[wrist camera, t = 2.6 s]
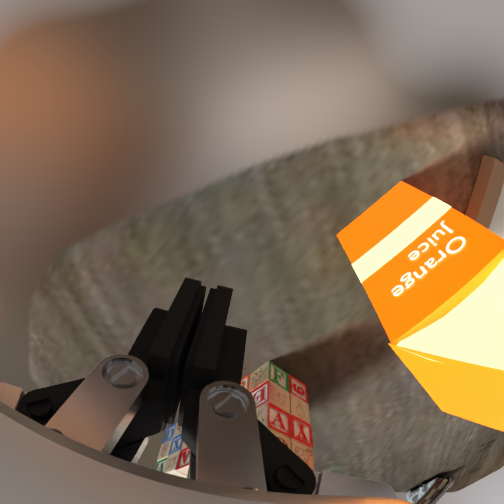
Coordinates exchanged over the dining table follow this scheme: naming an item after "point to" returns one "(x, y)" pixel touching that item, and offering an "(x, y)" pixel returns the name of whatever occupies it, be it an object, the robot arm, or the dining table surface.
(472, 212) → the mat
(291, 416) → the stack of blocks
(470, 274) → the orange juice
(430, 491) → the chocolate cake
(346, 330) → the dining table surface
